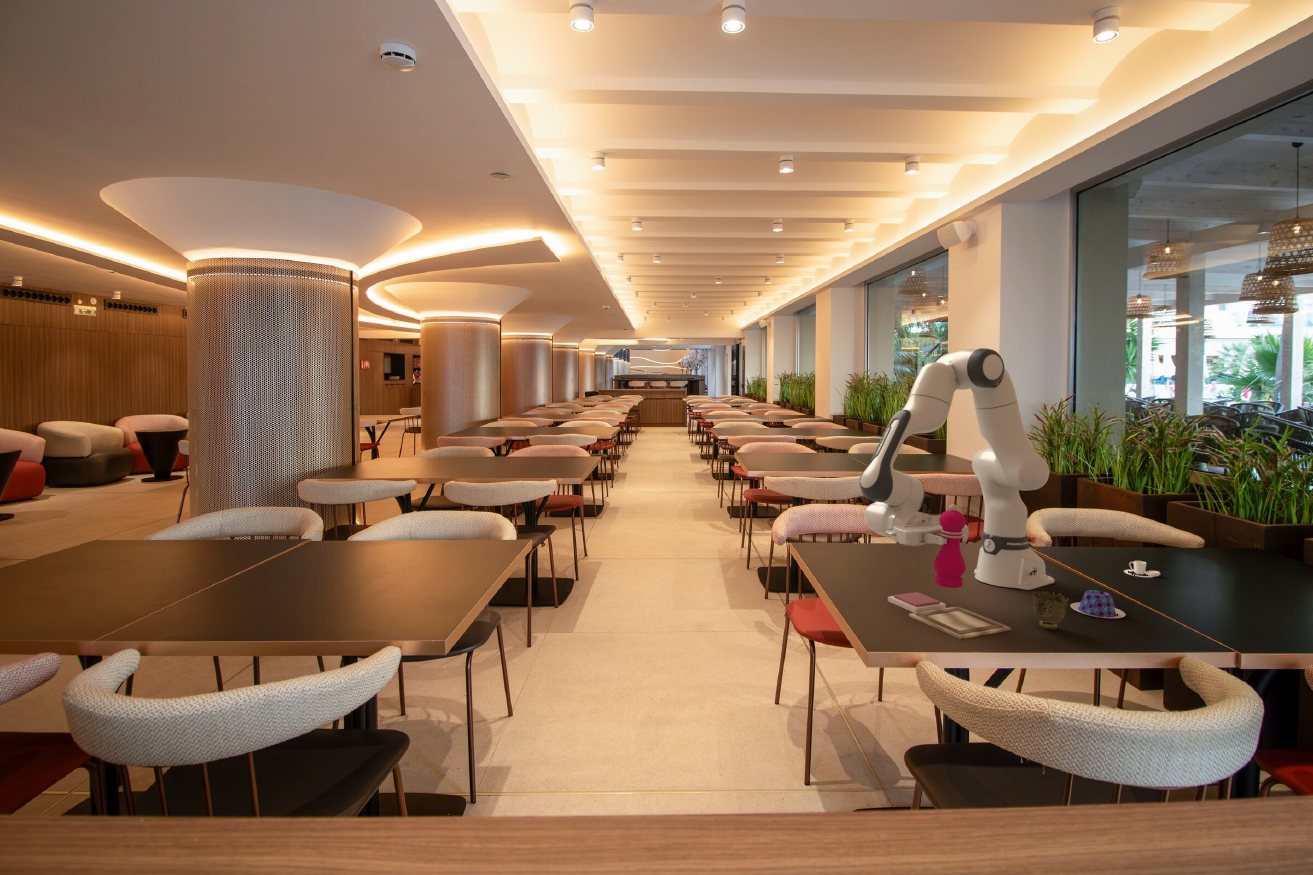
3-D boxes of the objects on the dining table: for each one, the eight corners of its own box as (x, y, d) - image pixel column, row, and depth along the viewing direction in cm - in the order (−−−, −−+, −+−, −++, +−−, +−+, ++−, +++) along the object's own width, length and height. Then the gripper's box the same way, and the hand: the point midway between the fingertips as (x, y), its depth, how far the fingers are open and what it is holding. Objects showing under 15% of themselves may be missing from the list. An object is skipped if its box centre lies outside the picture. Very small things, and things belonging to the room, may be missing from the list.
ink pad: (916, 597, 186) (917, 590, 186) (945, 608, 177) (945, 602, 177) (887, 601, 182) (888, 594, 182) (915, 613, 173) (915, 606, 173)
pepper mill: (964, 582, 171) (969, 503, 169) (964, 590, 164) (969, 508, 162) (933, 578, 174) (938, 500, 172) (931, 586, 167) (936, 505, 165)
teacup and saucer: (1164, 578, 210) (1165, 565, 209) (1146, 580, 207) (1147, 567, 206) (1135, 570, 218) (1136, 557, 218) (1117, 572, 215) (1118, 559, 215)
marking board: (957, 608, 177) (957, 605, 177) (1010, 630, 162) (1010, 627, 162) (909, 616, 171) (909, 613, 171) (959, 639, 156) (960, 635, 156)
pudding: (1098, 604, 184) (1099, 584, 183) (1137, 619, 172) (1139, 599, 172) (1059, 606, 182) (1060, 586, 181) (1095, 622, 170) (1097, 601, 169)
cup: (1071, 634, 160) (1073, 601, 159) (1036, 632, 162) (1038, 598, 161) (1059, 623, 167) (1061, 591, 167) (1026, 621, 169) (1028, 589, 168)
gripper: (882, 519, 176) (922, 530, 163) (943, 513, 183) (986, 524, 171) (881, 543, 176) (920, 557, 163) (942, 537, 184) (984, 549, 171)
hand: (954, 540), depth 167 cm, fingers closed on pepper mill, 5 cm apart
